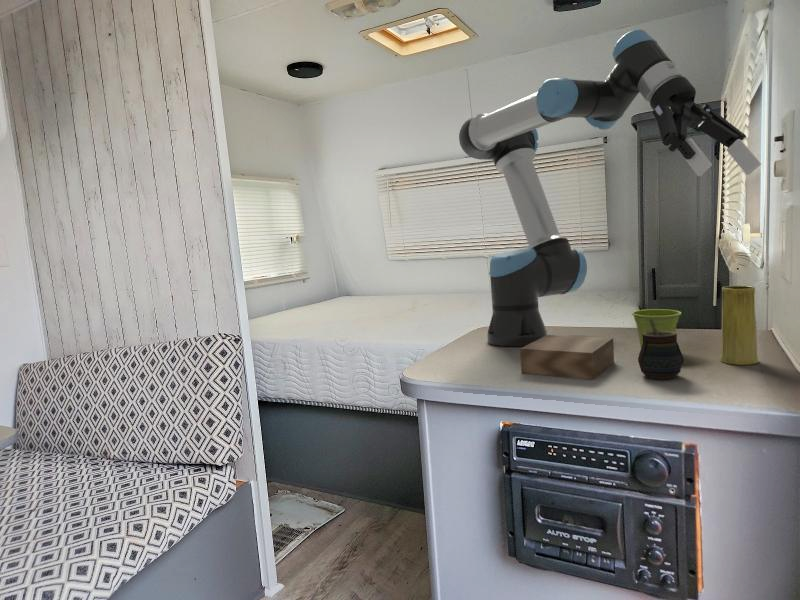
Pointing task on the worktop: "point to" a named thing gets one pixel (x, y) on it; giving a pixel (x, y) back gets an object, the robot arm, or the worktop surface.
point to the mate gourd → (660, 354)
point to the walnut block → (567, 356)
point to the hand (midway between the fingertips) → (730, 170)
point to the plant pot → (655, 320)
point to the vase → (738, 326)
